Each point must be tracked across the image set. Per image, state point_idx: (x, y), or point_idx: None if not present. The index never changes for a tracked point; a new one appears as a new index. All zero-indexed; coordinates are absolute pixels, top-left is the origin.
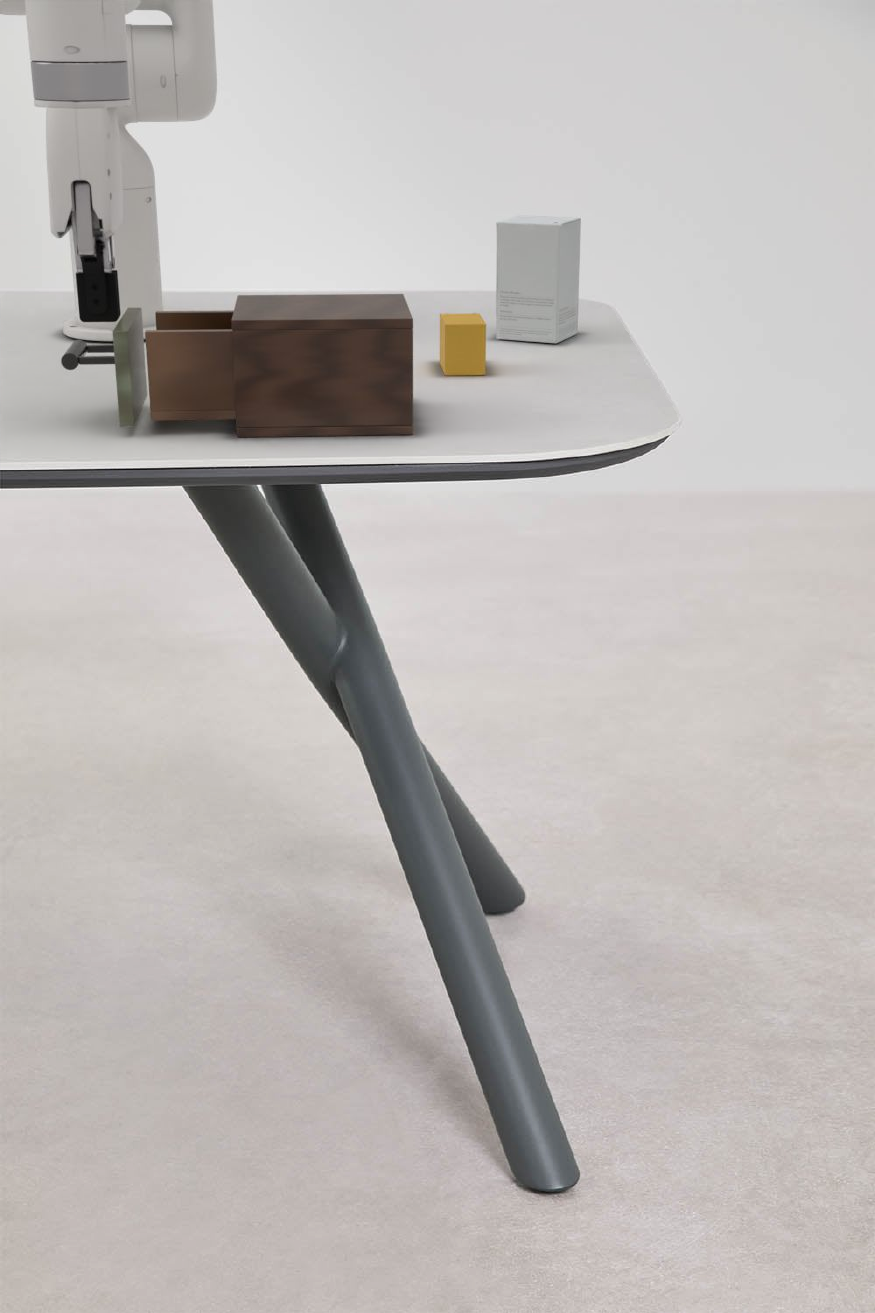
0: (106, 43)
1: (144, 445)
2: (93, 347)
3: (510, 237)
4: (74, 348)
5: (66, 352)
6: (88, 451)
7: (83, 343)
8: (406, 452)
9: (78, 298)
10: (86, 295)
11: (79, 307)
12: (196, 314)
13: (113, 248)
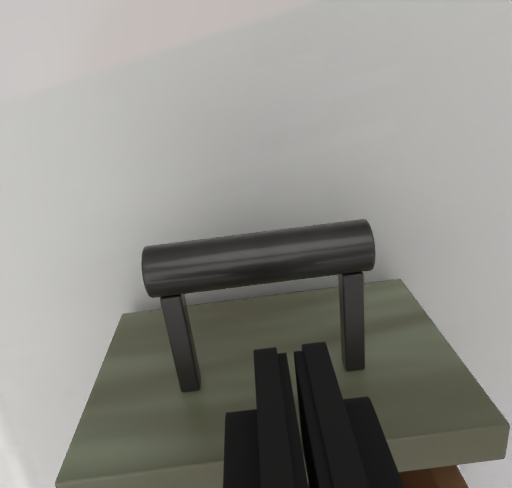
0: None
1: (80, 350)
2: (342, 291)
3: None
4: (225, 279)
5: (168, 269)
6: (11, 270)
7: (344, 271)
8: None
9: (257, 408)
10: (225, 459)
11: (256, 381)
12: None
13: None
